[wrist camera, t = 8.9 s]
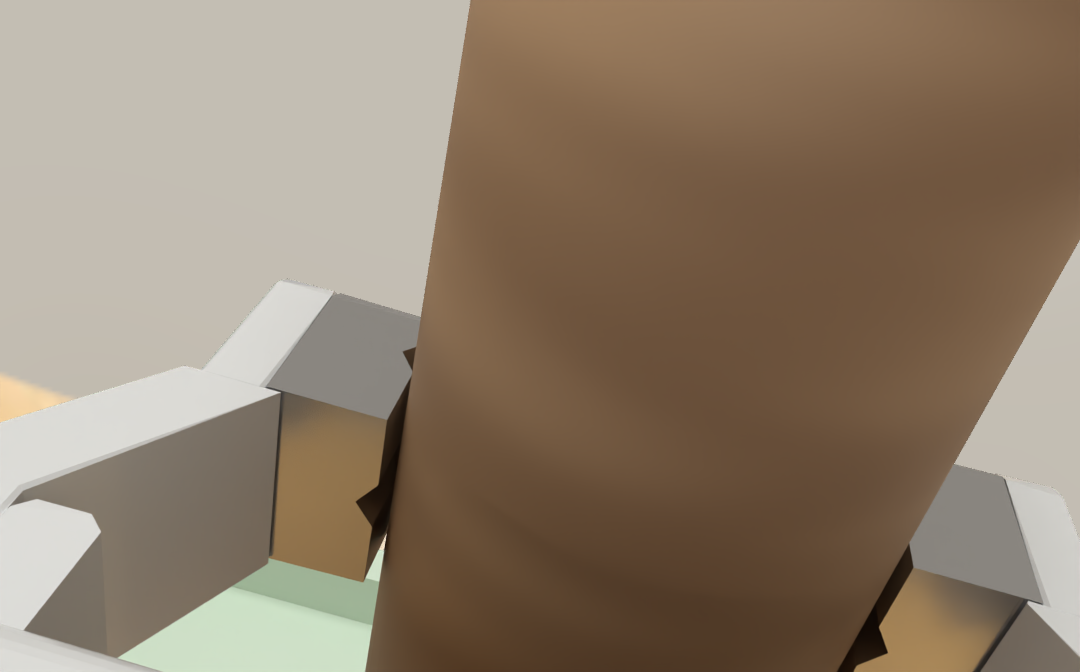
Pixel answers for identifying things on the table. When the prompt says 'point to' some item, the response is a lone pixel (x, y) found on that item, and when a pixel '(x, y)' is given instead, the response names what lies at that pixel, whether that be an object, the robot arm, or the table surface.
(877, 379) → the dowel
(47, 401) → the table surface
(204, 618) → the tray
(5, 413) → the table surface
